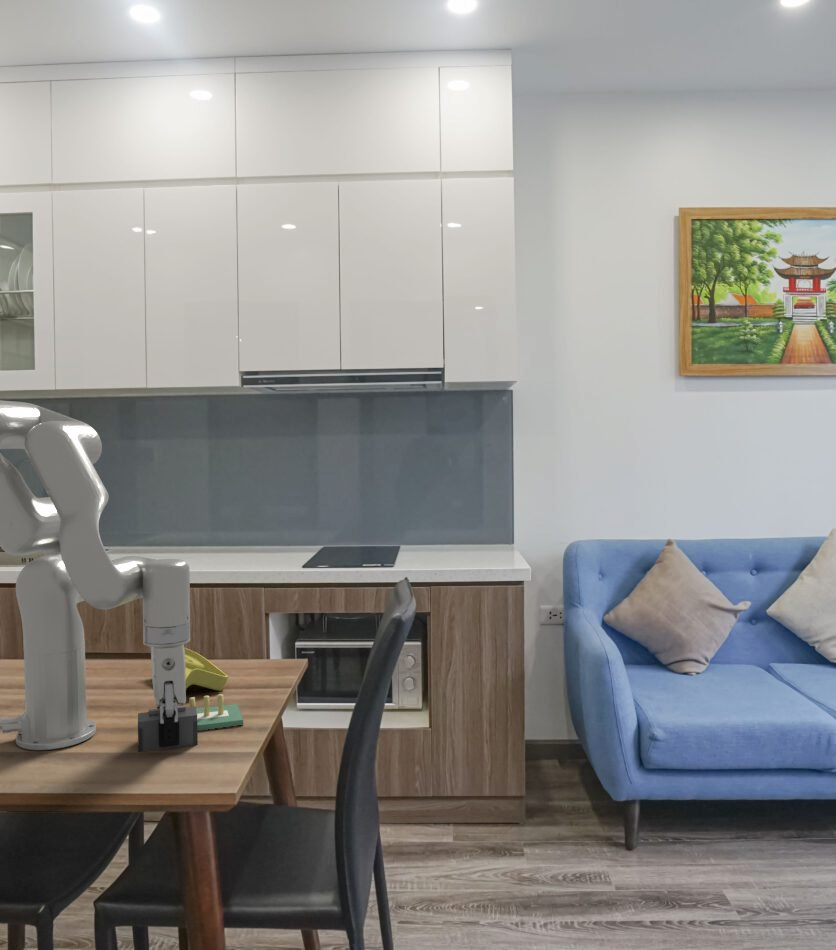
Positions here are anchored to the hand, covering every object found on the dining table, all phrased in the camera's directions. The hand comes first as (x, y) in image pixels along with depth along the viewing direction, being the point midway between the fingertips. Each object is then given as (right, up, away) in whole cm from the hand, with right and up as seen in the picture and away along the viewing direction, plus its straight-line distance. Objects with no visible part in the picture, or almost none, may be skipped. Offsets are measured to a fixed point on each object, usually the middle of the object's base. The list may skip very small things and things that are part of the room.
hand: (168, 736), depth 131 cm
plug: (0, -1, 0) cm, 1 cm away
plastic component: (-6, 0, +32) cm, 33 cm away
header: (+4, -1, +10) cm, 11 cm away
